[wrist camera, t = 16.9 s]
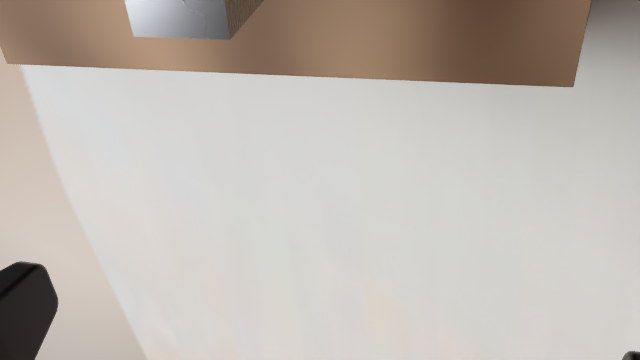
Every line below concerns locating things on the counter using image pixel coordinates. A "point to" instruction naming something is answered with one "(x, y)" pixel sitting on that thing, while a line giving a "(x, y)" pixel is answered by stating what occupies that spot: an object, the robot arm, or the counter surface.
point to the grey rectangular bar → (189, 17)
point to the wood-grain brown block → (320, 40)
